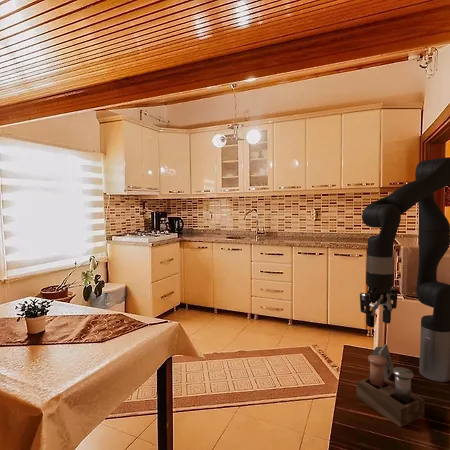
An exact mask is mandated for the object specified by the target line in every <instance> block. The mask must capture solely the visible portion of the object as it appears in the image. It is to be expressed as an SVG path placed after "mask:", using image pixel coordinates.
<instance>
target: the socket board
mask: <svg viewBox="0 0 450 450" xmlns="http://www.w3.org/2000/svg"><path fill="white" fill-rule="evenodd" d="M394 388H395V381H391V380H390V379H386V378H385V377H384V385H383V386H375V385H373V384H371V383H370V377H367V378H364V379H362V380H358V381H356V388H355V389H356V391H355V392H356V393H355V395H356V399H358V400H360V401H361V402H363V403H364V404H365V405H367V406H369V407H370V408H371V409H373V410H374V411H375V412H377V413H379V414H380V415H382V416H383V417H385V418H386V419H388V420H389V421H390V422H392V423H394V424H395V425H396V426H398V427H400V428H401V427H404V426H406V425H409V424H410V423H413V422H415V421H417V420H419V419H422V418H424V417H425V403H426V402H425V398H423V397H421V396H419V395H417V394H416V393H413V392H412V391H411V393H410V401H408V402H404V401H400V400H398V399H396V398H395V396H394Z"/></svg>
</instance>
